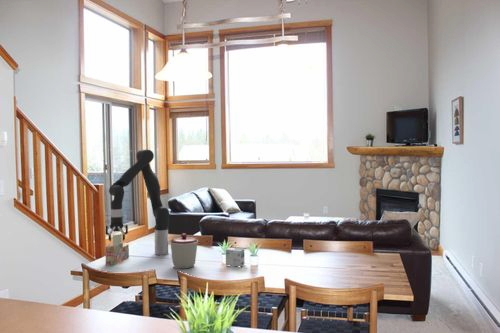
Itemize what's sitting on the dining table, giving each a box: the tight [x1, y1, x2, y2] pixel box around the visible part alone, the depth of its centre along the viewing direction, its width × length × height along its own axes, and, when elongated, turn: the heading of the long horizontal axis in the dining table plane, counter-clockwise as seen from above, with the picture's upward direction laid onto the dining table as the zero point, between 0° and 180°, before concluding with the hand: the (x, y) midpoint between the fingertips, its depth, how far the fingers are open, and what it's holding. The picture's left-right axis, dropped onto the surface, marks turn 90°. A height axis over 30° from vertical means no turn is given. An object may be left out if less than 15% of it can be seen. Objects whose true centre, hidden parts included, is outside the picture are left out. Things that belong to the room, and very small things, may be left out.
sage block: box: [112, 233, 122, 244], centre depth 280 cm, size 5×5×6 cm
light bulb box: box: [225, 247, 246, 268], centre depth 273 cm, size 11×7×11 cm, turn 71°
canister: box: [168, 232, 199, 270], centre depth 269 cm, size 18×18×21 cm
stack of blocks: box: [105, 242, 130, 266], centre depth 282 cm, size 21×6×12 cm, turn 172°
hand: (116, 240), depth 280 cm, fingers open, 7 cm apart
